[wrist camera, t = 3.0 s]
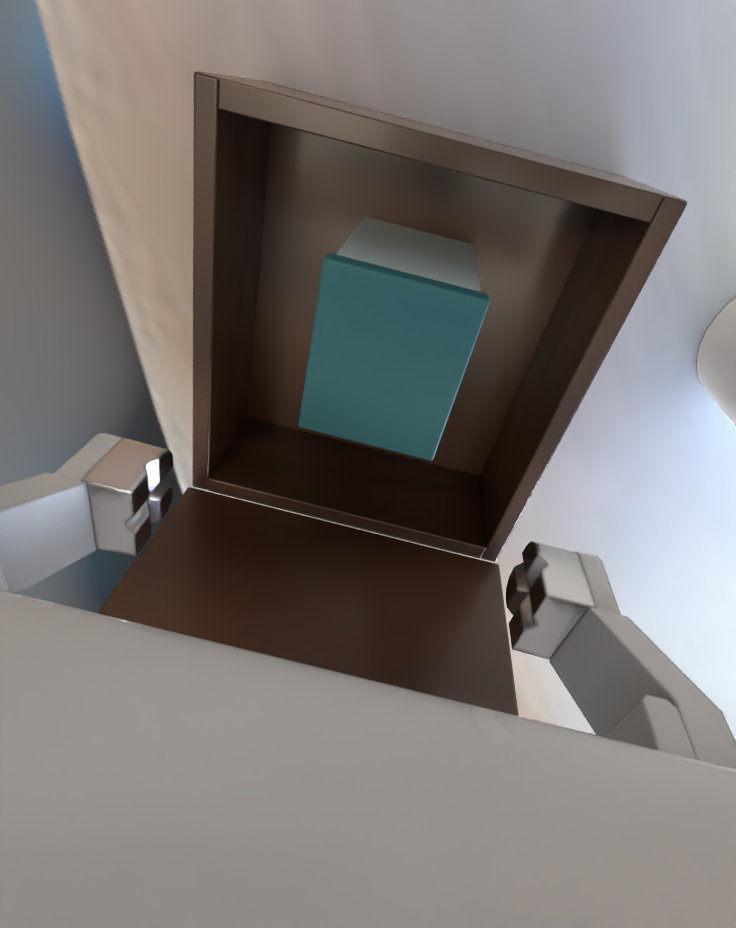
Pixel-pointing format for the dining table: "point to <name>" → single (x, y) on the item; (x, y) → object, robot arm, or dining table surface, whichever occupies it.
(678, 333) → the dining table surface
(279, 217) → the chest
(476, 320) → the white teal-lidded container
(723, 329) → the cylindrical container
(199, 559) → the lid
